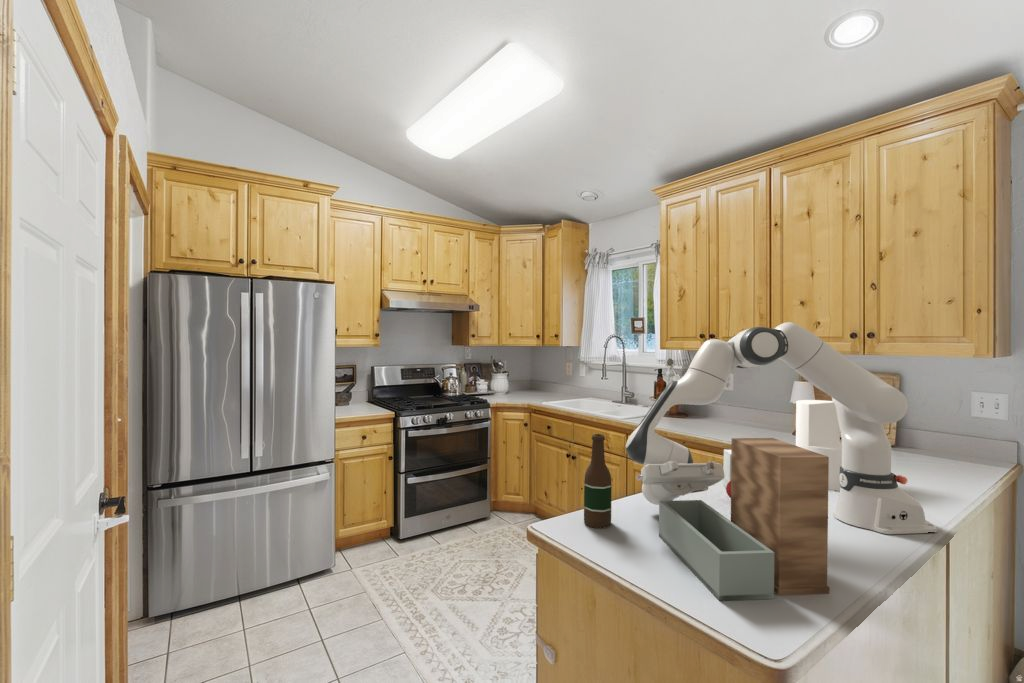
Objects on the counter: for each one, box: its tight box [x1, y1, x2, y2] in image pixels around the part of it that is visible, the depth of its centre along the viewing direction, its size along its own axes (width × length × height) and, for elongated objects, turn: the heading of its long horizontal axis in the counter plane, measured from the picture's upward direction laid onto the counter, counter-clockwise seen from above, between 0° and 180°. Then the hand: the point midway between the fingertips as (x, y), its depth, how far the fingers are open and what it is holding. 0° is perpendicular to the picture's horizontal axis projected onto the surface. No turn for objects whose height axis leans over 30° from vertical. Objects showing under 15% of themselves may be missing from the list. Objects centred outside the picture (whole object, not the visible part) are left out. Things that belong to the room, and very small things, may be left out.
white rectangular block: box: [795, 399, 842, 492], centre depth 168 cm, size 17×17×28 cm
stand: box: [730, 437, 831, 596], centre depth 104 cm, size 19×11×27 cm, turn 5°
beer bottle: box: [583, 433, 613, 530], centre depth 130 cm, size 8×8×24 cm
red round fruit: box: [725, 481, 731, 499], centre depth 148 cm, size 6×6×8 cm
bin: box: [658, 499, 775, 602], centre depth 108 cm, size 30×11×9 cm, turn 5°
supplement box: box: [722, 448, 731, 489], centre depth 160 cm, size 7×7×13 cm
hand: (693, 465), depth 115 cm, fingers open, 8 cm apart
